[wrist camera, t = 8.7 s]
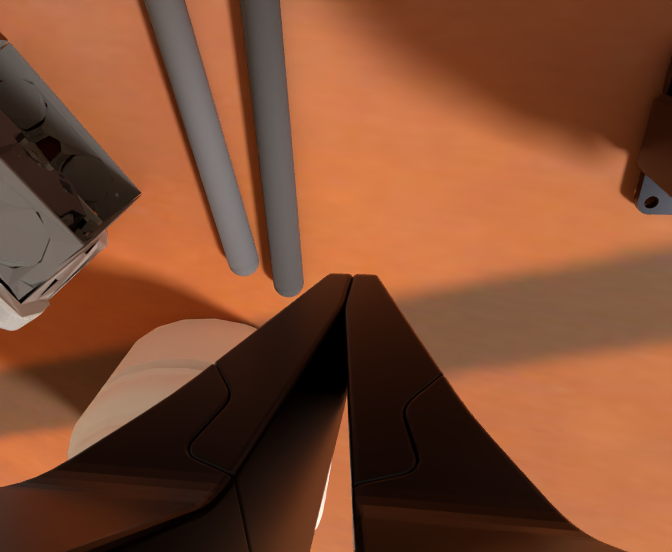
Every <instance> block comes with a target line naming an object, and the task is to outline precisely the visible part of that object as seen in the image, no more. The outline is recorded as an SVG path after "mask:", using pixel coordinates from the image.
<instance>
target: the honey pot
mask: <svg viewBox="0 0 672 552" xmlns="http://www.w3.org/2000/svg"><path fill="white" fill-rule="evenodd" d="M256 330H257V329H256V328H254V327H252V326H249V325H247V324H241V323H236V322H231V321H226V320H220V319H215V318H214V319H184V320H180V321H177V322H173V323H170V324H166V325H163V326H159V327H157V328H155V329H154V330H152V331H151V332H149V333H148V334H146V335H144V336H143V337H141V338H140V339H138V340H137V341H136V343H135V344H134V345H133V347H132V348H131V349H130V351H129V352H128V353H127V355H126V356H125V357H124V359H123V360H122V361H121V363H120V364H119V365H118V367H117V368H116V370H115V371H114V372H113V374H112V375H111V376H110V378H109V379H108V380H107V382H106V383H105V384H104V386H103V387H102V389H101V390H100V391H99V393H98V394H97V395H96V397H95V398H94V400H93V401H92V402H91V404H90V405H89V406H88V408H87V409H86V410H85V412H84V413H83V414H82V416H81V417H80V418H79V420H78V421H77V423H76V425H75V427H74V429H73V432H72V434H71V439H70V444H69V449H68V454H67V455H68V460H69V459H71V458H72V457H74V456H75V455H77V454H79V453H80V452H82V451H83V450H85V449H87V448H88V447H90V446H91V445H93V444H95V443H96V442H98V441H99V440H101V439H102V438H104V437H106V436H107V435H109V434H110V433H112V432H114V431H115V430H117V429H118V428H120V427H121V426H123V425H125V424H126V423H128V422H129V421H131V420H133V419H134V418H136V417H137V416H139V415H141V414H142V413H144V412H145V411H147V410H148V409H150V408H151V407H153V406H154V405H156V404H157V403H159V402H160V401H162V400H163V399H165V398H166V397H168V396H169V395H171V394H172V393H174V392H175V391H176V390H178V389H179V388H181V387H182V386H183V385H185V384H186V383H187V382H189V381H190V380H192V379H193V378H194V377H196V376H197V375H198V374H200V373H201V372H202V371H204V370H205V369H206V368H207V367H209V366H210V365H211V364H215V362H216V361H217V360H218V359H219V358H221V357H222V356H223V355H225V354H226V353H227V352H229V351H230V350H231V349H232V348H234V347H235V346H236V345H238V344H239V343H240V342H242V341H243V340H244V339H245V338H247V337H248V336H249V335H251V334H252V333H253V332H255V331H256ZM68 460H67V461H68ZM331 463H332V461H331ZM330 468H331V465H330ZM329 473H330V469H329ZM328 480H329V474H328V478H327V482H326V486H325V490H324V494H323V499H322V503H321V507H320V511H319V515H318V519H317V524H316V528H317V527H318V524H319V522H320V519H321V517H322V513H323V508H324V503H325V498H326V490H327V485H328ZM316 528H315V529H316Z"/></svg>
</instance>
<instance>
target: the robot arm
mask: <svg viewBox="0 0 672 552" xmlns="http://www.w3.org/2000/svg"><path fill="white" fill-rule="evenodd" d="M637 166H638V167H639V168H640V169H641V174H640V178H639V182H638V185H637V189H636V193H635V197H634V204H635V206H636V208H637V209H638V210H639V211H641V212H642V213H644V214H663V215H672V58H671V62H670V65H669V69H668V73H667V77H666V80H665V84H664V88H663V92H662V93H661V94H660V95H659V96H657V97H656V98H655V99H654V101H653V105H652V109H651V113H650V116H649V120H648V124H647V128H646V132H645V136H644V139H643V143H642V147H641V151H640V155H639V159H638V162H637ZM651 196H655V199H654V200H653V202H652V203H650V204H646V205H645V204H644V202H645V200H646V199H647V198H649V197H651ZM346 397H347V399H348V424H349V448H350V473H351V498H352V522H353V547H354V552H627V551H624V550H621V549H619V548H616V547H614V546H611V545H608V544H606V543H603V542H601V541H599V540H597V539H595V538H593V537H591V536H589V535H588V534H586V533H584V532H583V531H582V530H580V529H579V528H578V527H576V526H575V525H573V524H572V523H571V522H570V521H569V520H568V519H567V518H565V517H564V516H563V515H562V514H561V513H560V512H559V511H558V510H557V509H556V508H555V507H554V506H553V505H552V504H551V503H550V502H549V501H548V500H547V499H546V497H545V496H544V495H543V494H542V493H541V492H540V491H539V490H538V489H537V487H536V486H535V485H534V484H533V483H532V482H531V481H530V480H529V479H528V478H527V476H526V475H525V474H524V473H523V472H522V471H521V470H520V469H519V468H518V466H517V465H516V464H515V463H514V462H513V461H512V460H511V459H510V458H509V456H508V455H507V454H506V453H505V452H504V451H503V450H502V449H501V448H500V447H499V445H498V444H497V443H496V442H495V441H494V440H493V439H492V438H491V436H490V435H489V434H488V433H487V432H486V431H485V429H484V428H483V427H482V426H481V425H480V424H479V422H478V421H477V420H476V419H475V418H474V416H473V415H472V414H471V413H470V411H469V410H468V409H467V407H466V406H465V405H464V403H463V402H462V401H461V399H460V398H459V396H458V395H457V394H456V392H455V391H454V389H453V388H452V386H451V385H450V383H449V382H448V380H447V379H446V377H444V376H443V373H442V372H441V370H440V369H439V367H438V366H437V364H436V363H435V361H434V360H433V358H432V357H431V355H430V354H429V352H428V351H427V349H426V348H425V346H424V345H423V343H422V342H421V340H420V339H419V337H418V336H417V334H416V333H415V331H414V330H413V328H412V327H411V325H410V324H409V322H408V321H407V319H406V318H405V316H404V315H403V313H402V312H401V310H400V309H399V307H398V306H397V305H396V303H395V302H394V300H393V299H392V297H391V296H390V294H389V293H388V291H387V290H386V288H385V287H384V285H383V284H382V282H381V281H380V279H379V278H378V276H376V275H366V274H356V275H354V277H352V275H350V274H329V275H327V276H326V277H325V278H323V279H322V280H321V281H320V282H318V283H317V284H316V285H314V286H313V287H312V288H310V289H309V290H308V291H307V292H305V293H304V294H303V295H301V296H300V297H299V298H297V299H296V300H295V301H294V302H292V303H291V304H290V305H288V306H287V307H286V308H284V309H283V310H282V311H281V312H279V313H278V314H277V315H275V316H274V317H273V318H271V319H270V320H269V321H268V322H266V323H265V324H264V325H262V326H261V327H260V328H258V329H257V330H256V331H255V332H253V333H252V334H251V335H249V336H248V337H247V338H245V339H244V340H243V341H242V342H240V343H239V344H238V345H236V346H235V347H234V348H232V349H231V350H230V351H229V352H227V353H226V354H225V355H223V356H222V357H221V358H219V359H218V360H217V361H216V362H215V364H211V365H210V366H209V367H207V368H206V369H205V370H204V371H202V372H201V373H200V374H198V375H197V376H196V377H194V378H193V379H192V380H190V381H189V382H187V383H186V384H185V385H183V386H182V387H181V388H179V389H178V390H176V391H175V392H174V393H172V394H171V395H169V396H168V397H166V398H165V399H163V400H162V401H160V402H159V403H157V404H156V405H154V406H153V407H151V408H150V409H148V410H147V411H145V412H144V413H142V414H141V415H139V416H137V417H136V418H134V419H133V420H131V421H129V422H128V423H126V424H125V425H123V426H121V427H120V428H118V429H117V430H115V431H114V432H112V433H110V434H109V435H107V436H106V437H104V438H102V439H101V440H99V441H98V442H96V443H95V444H93V445H91V446H90V447H88V448H87V449H85V450H83V451H82V452H80V453H79V454H77V455H75V456H74V457H72V458H71V459H69V460H68V461H66V462H64V463H63V464H61V465H59V466H57V467H56V468H54V469H52V470H50V471H48V472H46V473H44V474H42V475H40V476H37V477H35V478H32V479H29V480H26V481H23V482H20V483H16V484H12V485H8V486H4V487H0V552H310V548H311V544H312V540H313V536H314V532H315V528H316V524H317V519H318V515H319V511H320V507H321V503H322V499H323V494H324V490H325V486H326V482H327V478H328V474H329V469H330V465H331V461H332V457H333V453H334V449H335V445H336V440H337V436H338V432H339V428H340V424H341V420H342V415H343V411H344V407H345V402H346Z"/></svg>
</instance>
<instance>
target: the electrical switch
mask: <svg viewBox="0 0 672 552" xmlns="http://www.w3.org/2000/svg"><path fill="white" fill-rule="evenodd" d="M7 42H8V41H6V40H0V48H1V47H2V46H4V45H5V44H6V43H7ZM0 80H3V81H2V82H1V83H0V328H2V329H6V330H10V331H13V330H18V329H19V328H21V327H22V326H24V325H26V324H27V323H29V322H30V321H32V320H33V319H35V318H37V317H38V316H39V315H40V314H41V313H43V312H44V311H45V309H46V308H47V307H48V306H49V305H50V303H49V302H48V300H49V299H50V298H51V297H53V296H54V295H55V294H56V293H57V292H58V291H59V290H60V289H61V288H62V287H63V286H64V285H65V284H66V283H67V282H68V281H69V280H71V279H72V278H73V277H74V276H75V275H76V274H77V273H78V272H79V271H80V270H81V269H82V268H83V267H84V266H85V265H86V264H87V263H89V262H90V261H91V260H92V259H93V258H94V257H95V256H96V255H97V254H98V253H99V252H100V251H102V250H103V249H104V248H105V247H106V246H107V244H108V232H107V231H106V230H105V229H107V228H108V227H109V226H110V225H111V224H112V223H113V222H114V221H115V220H116V219H117V218H118V217H119V216H120V215H121V214H122V213H123V212H124V211H125V210H126V209H127V208H128V207H130V206H131V205H132V204H133V203H134V202H135V201H136V200H137V199H138V198H139V197H140V196H141V195H140V196H139V197H137V196H138V195H139V194H141V192H140V191H139V190H138V189H137V188H136V187H135V185H134V184H133V183H132V182H131V181H130V180H129V179H128V177H127V176H126V175H125V174H124V173H123V172H122V170H121V169H120V168H119V167H118V166H117V165H116V164H115V162H114V161H113V160H112V159H111V158H110V157H109V156H108V154H107V153H106V152H105V151H104V150H103V149H102V148H101V146H100V145H99V144H98V143H97V142H96V141H95V140H94V138H93V137H92V136H91V135H90V134H89V133H88V131H87V130H86V129H85V128H84V127H83V126H82V125H81V123H80V122H79V121H78V120H77V119H76V118H75V117H74V115H73V114H72V113H71V112H70V111H69V110H68V109H67V107H66V106H65V105H64V104H63V103H62V102H61V101H60V99H59V98H58V97H57V96H56V95H55V94H54V93H53V91H52V90H51V89H50V88H49V87H48V86H47V84H46V83H45V82H44V81H43V80H42V79H41V78H40V76H39V75H38V74H37V73H36V72H35V71H34V70H33V68H32V67H31V66H30V65H29V64H28V63H27V62H26V60H25V59H24V58H23V57H22V56H21V55H20V54H19V52H18V51H17V50H16V49H15V48H14V47H13V45H12V44H10V43H9V44H8V45H6V46H5V47H4V48H2V49H1V50H0ZM27 81H28V82H27ZM29 82H32V83H33V84H34V85H33V84H31V83H29ZM43 99H44V100H43ZM44 101H45V102H46V104H47V108H46V106H45V103H44ZM44 117H45V120H44V123H43V124H42V125H41V126H39V127H38V128H36V129H34V130H31V131H29V132H26V131H24V130H22V129H25V130H27V129H28V128H30V127H32V126H33V125H35V124H37V123H38V122H40V121H42V120H43V118H44ZM28 135H29V136H28ZM47 136H51V137H53V138H55V139H57V140H58V141H59V143H60V145H61V151H60V152H59V153H58V154H57V156H56V157H55V158H54V159H53V160H52V161H51V162H49V161H48V160H47V158H46V157H45V156H44V155H43V153H42V152H41V151H40V149H39V148H38V147H37V146H36V144H35V143H36V142H38V141H40V140H42V139H44V138H45V137H47ZM72 155H80V156H74V157H73V158H72V159H71V160H70V161H69V162H68V163H67V164H66V166H65V167H64V168H63V169H62V172H63V173H61V168H62V166H63V164H64V162H65V161H66V159H68V158H69V157H70V156H72ZM98 158H100V160H101V161H102V162H101V161H100V160H99V159H98ZM56 166H57V167H58V168H57V167H56ZM108 191H109V192H108ZM136 197H137V198H136ZM134 198H136V199H134ZM133 199H134V200H133ZM132 200H133V201H132ZM129 202H130V203H129ZM91 203H93V204H91ZM92 209H94V210H95V212H96V213H97V215H98V216H97V215H96V214H95V213H94V211H93V210H92Z"/></svg>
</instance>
